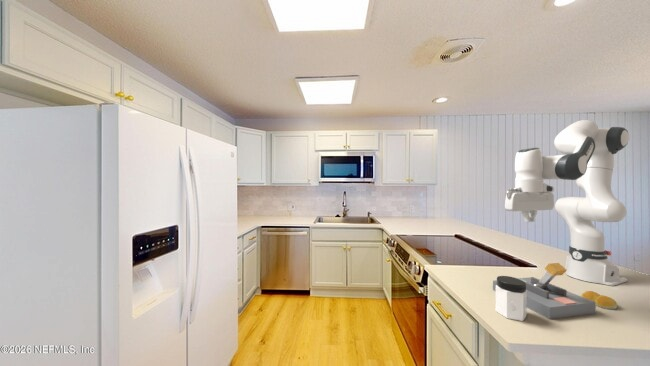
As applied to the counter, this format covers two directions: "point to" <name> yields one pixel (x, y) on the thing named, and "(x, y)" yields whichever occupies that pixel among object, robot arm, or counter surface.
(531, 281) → the switch panel
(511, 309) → the jar
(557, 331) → the counter surface
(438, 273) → the counter surface
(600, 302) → the bread roll
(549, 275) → the breaker lever
